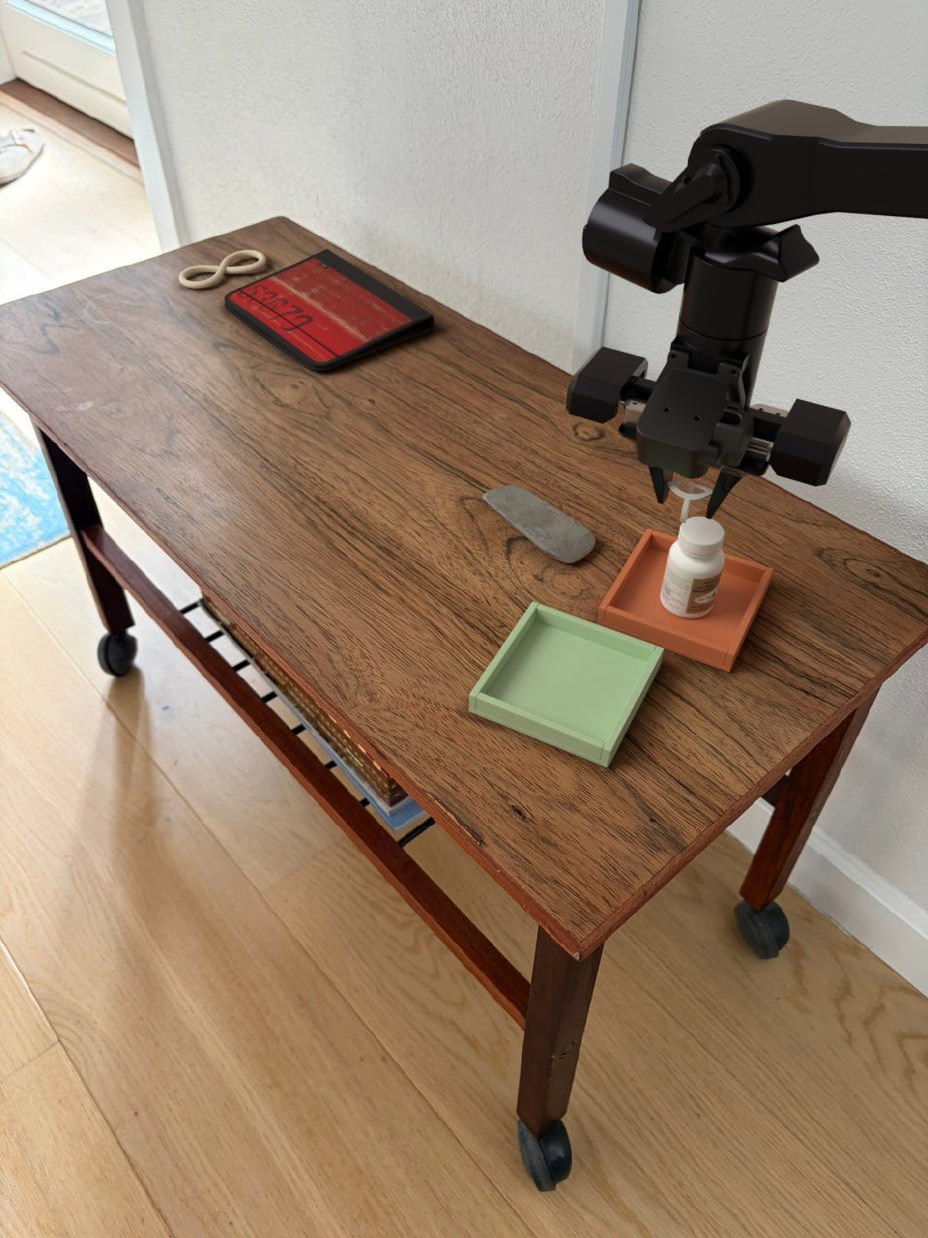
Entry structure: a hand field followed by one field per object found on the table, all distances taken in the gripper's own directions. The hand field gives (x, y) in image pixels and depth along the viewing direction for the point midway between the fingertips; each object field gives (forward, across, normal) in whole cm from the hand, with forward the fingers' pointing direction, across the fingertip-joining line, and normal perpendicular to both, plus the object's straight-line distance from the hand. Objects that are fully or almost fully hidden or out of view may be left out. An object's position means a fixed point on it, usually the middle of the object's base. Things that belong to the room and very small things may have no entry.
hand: (685, 508), depth 77 cm
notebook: (+11, -52, +26) cm, 59 cm away
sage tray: (+11, -4, -12) cm, 16 cm away
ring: (+1, 0, 0) cm, 1 cm away
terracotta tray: (+11, +1, +1) cm, 11 cm away
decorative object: (+10, -68, +29) cm, 75 cm away
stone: (+11, -14, +4) cm, 18 cm away
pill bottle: (+10, +1, +1) cm, 11 cm away
